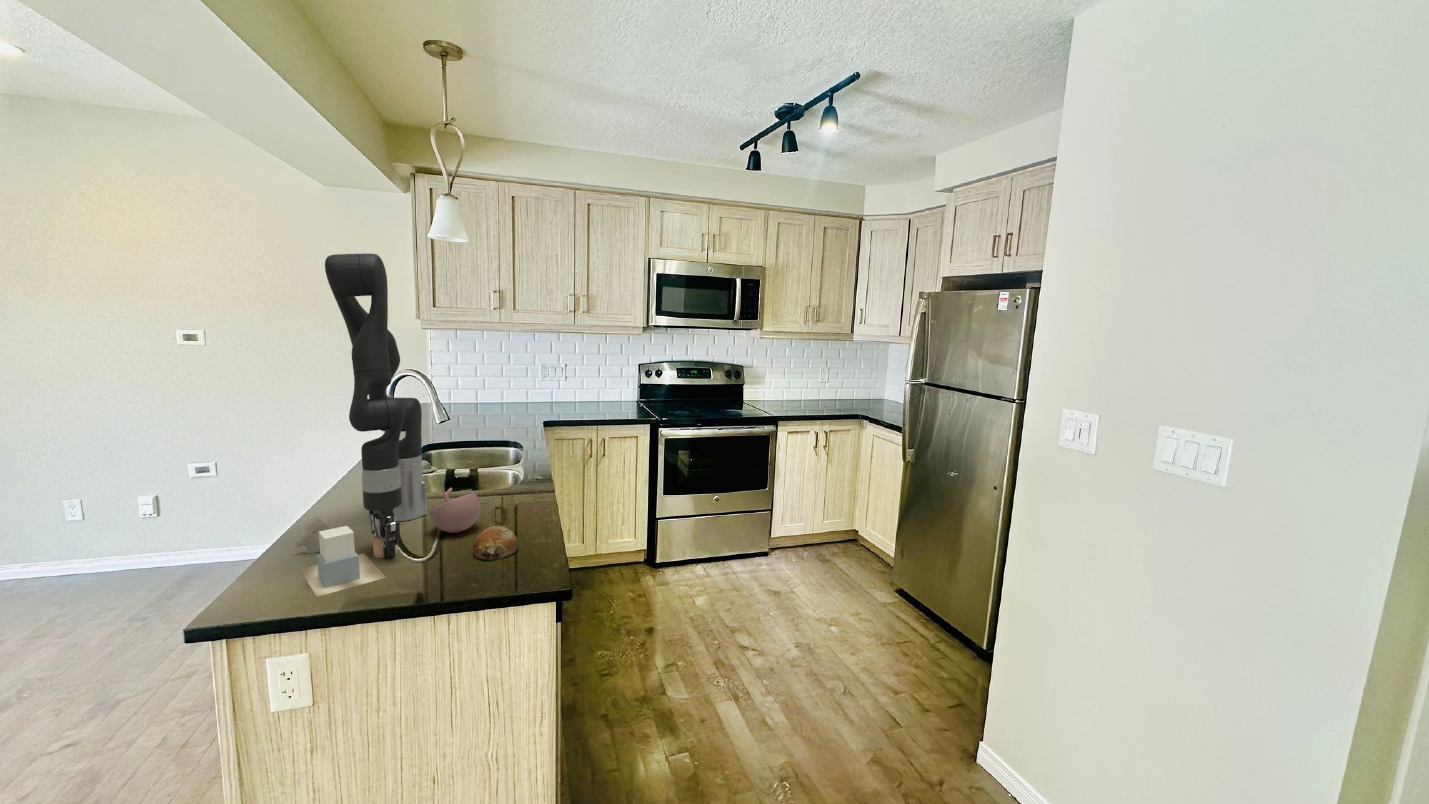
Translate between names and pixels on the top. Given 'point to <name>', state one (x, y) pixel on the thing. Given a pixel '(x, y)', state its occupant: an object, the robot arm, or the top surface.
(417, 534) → the top surface
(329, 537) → the tower upper
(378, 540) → the peach cylinder
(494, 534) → the bread roll
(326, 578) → the tower lower
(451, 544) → the top surface
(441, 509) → the mortar and pestle
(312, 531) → the arrowhead
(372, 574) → the board
